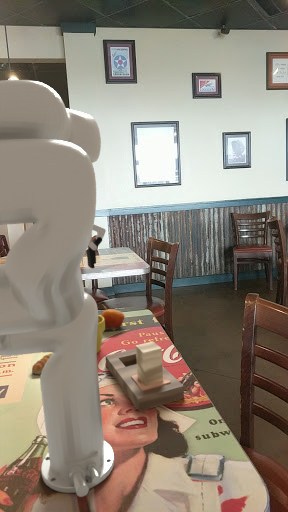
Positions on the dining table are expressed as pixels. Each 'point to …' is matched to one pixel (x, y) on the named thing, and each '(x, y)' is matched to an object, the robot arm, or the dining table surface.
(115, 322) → the fruit
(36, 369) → the pastry
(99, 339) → the plant pot
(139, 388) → the pocket board
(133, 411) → the dining table surface
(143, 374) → the maple block
